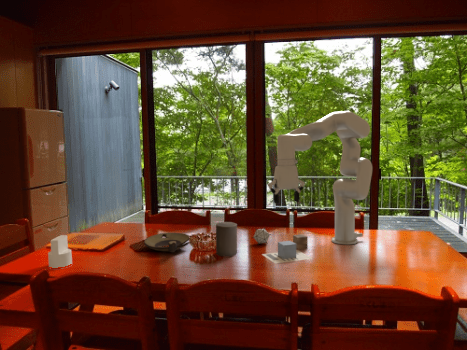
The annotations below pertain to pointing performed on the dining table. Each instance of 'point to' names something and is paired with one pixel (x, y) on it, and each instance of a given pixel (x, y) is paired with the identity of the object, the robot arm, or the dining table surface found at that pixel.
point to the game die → (261, 236)
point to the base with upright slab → (59, 252)
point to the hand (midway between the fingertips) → (286, 202)
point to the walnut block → (300, 241)
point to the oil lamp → (167, 241)
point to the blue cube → (287, 249)
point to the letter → (278, 259)
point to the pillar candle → (226, 239)
